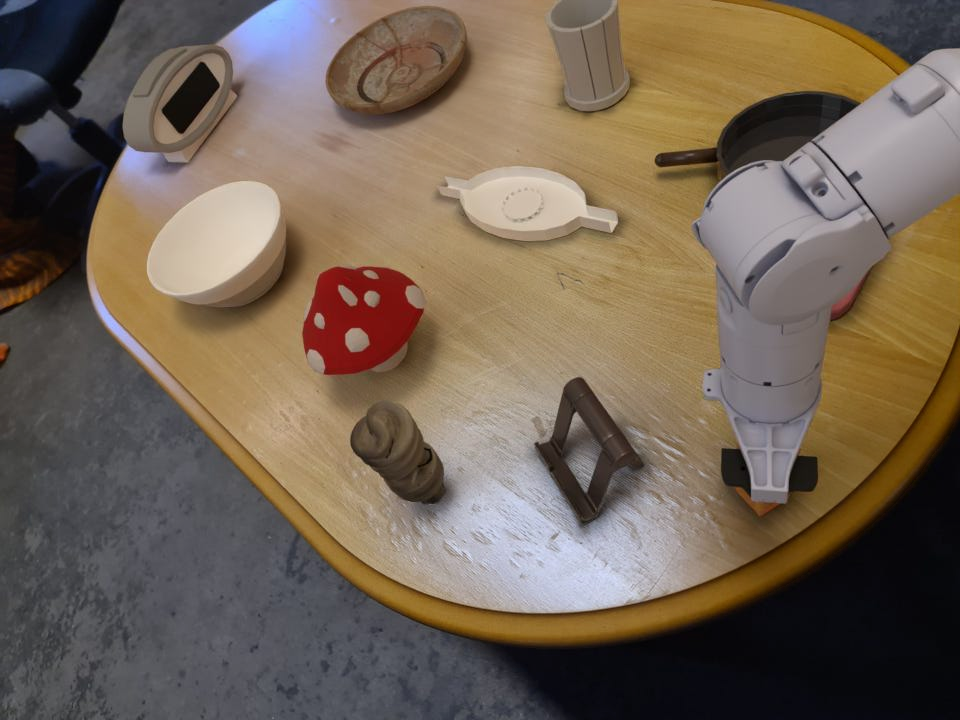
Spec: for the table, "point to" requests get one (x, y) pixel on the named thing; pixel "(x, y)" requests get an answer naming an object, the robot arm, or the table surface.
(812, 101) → the pan
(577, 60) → the cup
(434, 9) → the ceramic bowl
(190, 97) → the alarm clock
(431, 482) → the brown twisted statue
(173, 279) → the bowl
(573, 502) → the tablet stand
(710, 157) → the pan handle
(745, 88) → the table surface
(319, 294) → the decorative mushroom
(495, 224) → the shallow oval tray
